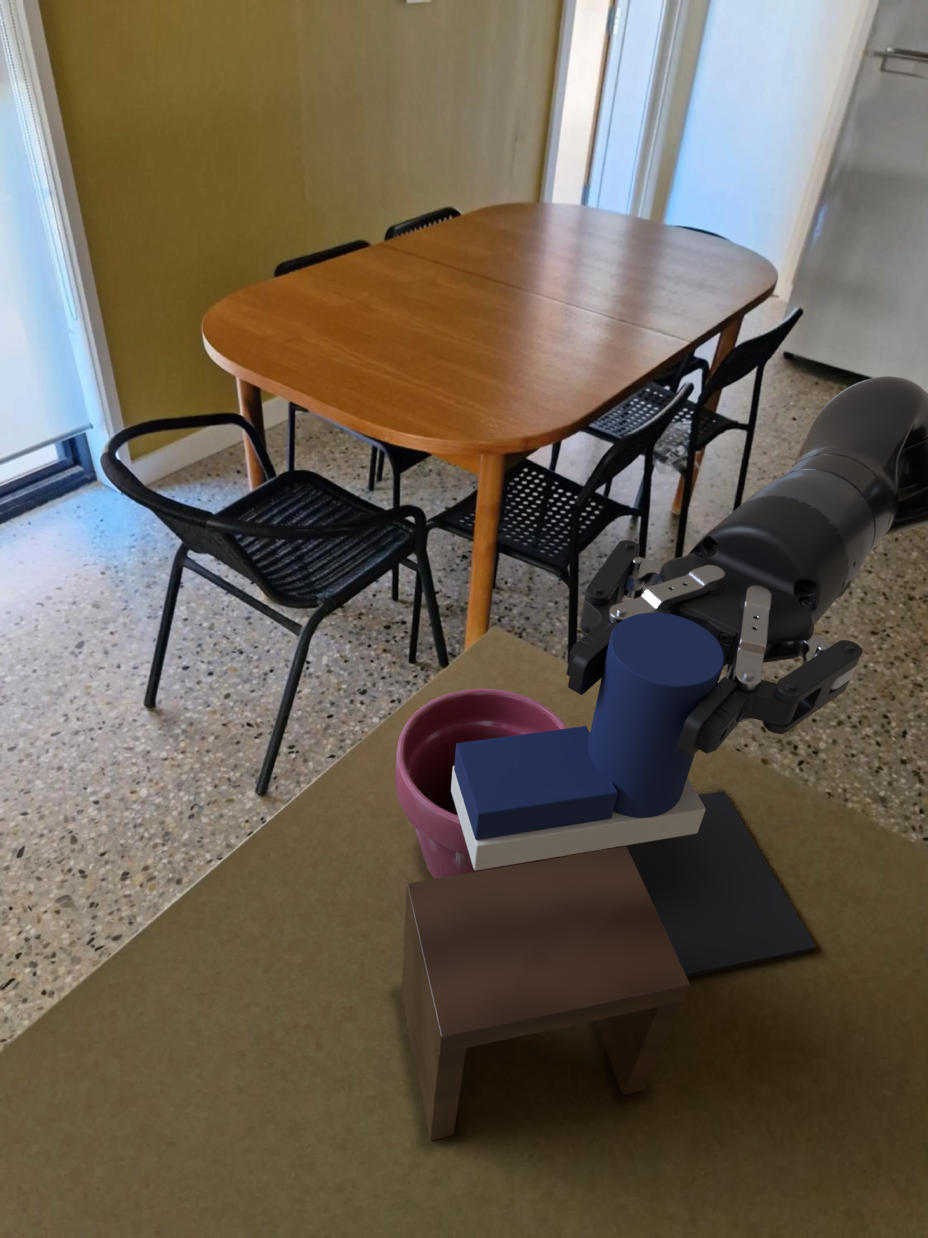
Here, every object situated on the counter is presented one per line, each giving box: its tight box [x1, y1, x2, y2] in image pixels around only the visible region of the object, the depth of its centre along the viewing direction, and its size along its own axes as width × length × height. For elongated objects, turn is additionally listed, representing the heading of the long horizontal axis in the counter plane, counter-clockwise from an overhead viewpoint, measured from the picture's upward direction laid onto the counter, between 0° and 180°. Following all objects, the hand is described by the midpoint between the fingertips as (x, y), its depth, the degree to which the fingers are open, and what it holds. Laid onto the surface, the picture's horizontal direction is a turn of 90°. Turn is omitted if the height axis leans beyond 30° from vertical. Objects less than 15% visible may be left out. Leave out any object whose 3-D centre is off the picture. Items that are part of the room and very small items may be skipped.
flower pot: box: [395, 688, 569, 879], centre depth 71 cm, size 14×14×13 cm
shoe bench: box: [401, 847, 691, 1141], centre depth 58 cm, size 10×15×14 cm, turn 104°
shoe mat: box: [615, 790, 818, 979], centre depth 74 cm, size 16×12×1 cm
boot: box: [451, 613, 724, 870], centre depth 43 cm, size 12×5×11 cm, turn 103°
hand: (630, 707), depth 40 cm, fingers closed on boot, 5 cm apart
